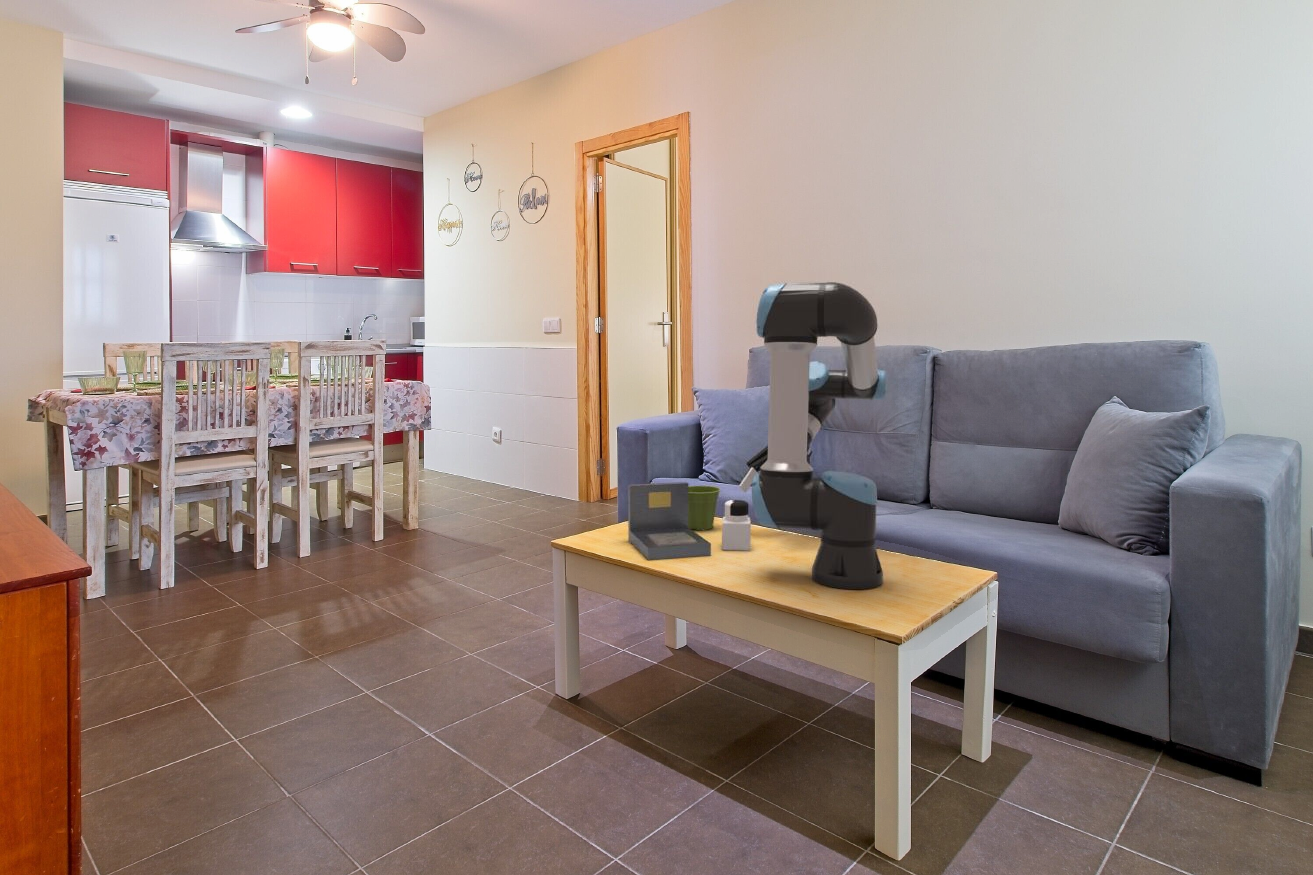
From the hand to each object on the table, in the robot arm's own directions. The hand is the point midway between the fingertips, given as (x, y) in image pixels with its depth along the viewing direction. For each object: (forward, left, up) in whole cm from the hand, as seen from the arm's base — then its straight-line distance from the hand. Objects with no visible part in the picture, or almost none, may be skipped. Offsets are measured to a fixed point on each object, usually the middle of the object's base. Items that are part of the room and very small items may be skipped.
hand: (760, 493), depth 201 cm
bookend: (0, +25, -13) cm, 28 cm away
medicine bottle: (-4, +8, -13) cm, 16 cm away
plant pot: (+19, +10, -13) cm, 25 cm away
